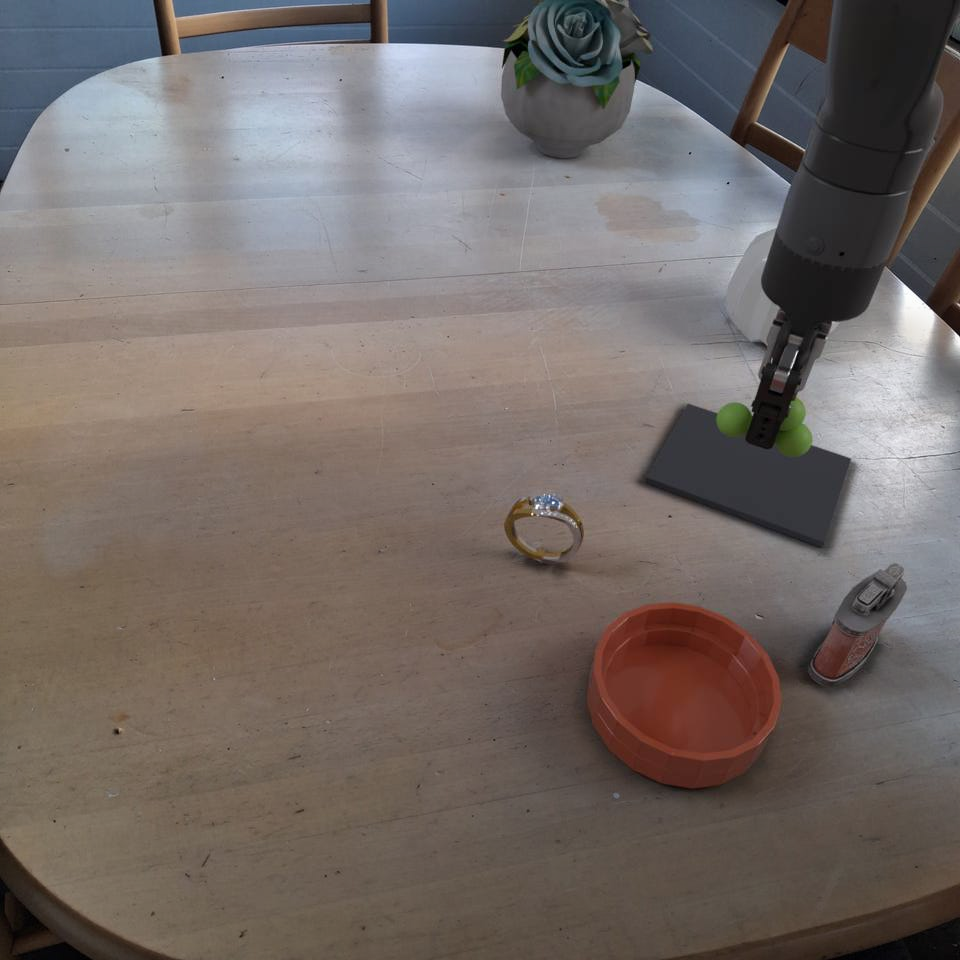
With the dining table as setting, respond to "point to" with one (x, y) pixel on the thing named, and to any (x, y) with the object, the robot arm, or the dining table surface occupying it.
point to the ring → (545, 508)
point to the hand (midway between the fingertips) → (763, 430)
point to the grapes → (791, 434)
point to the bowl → (682, 694)
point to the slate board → (751, 477)
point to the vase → (753, 292)
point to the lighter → (858, 626)
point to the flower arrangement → (572, 73)
